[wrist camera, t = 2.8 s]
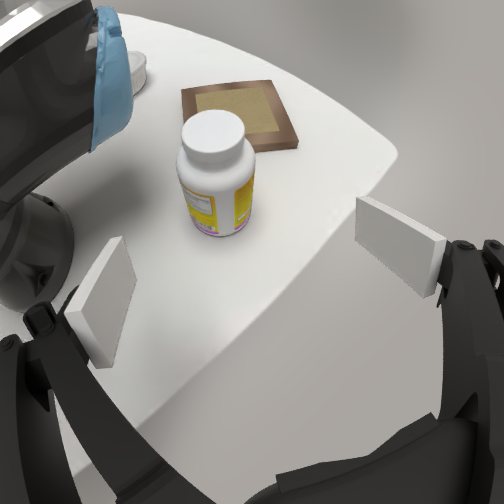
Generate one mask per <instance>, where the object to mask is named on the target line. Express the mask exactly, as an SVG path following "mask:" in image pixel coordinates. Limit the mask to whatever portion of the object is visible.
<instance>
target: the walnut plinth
mask: <svg viewBox="0 0 504 504" xmlns="http://www.w3.org/2000/svg"><path fill="white" fill-rule="evenodd" d="M181 93H182V106H183V118H184V124H185V122H186V121H187V120H188V119H189V118H191V117H192V116H194V115H195V114H197V113H200V112H203V111H206V110H224V111H228V112H231V113H233V114H235V115H236V116H238V117H239V118H240V119H241V120H242V122H243V124H244V127H245V138H246V139H247V140H248V141H249V143H250V144H251V146H252V147H253V150H254V152H263V151H272V150H282V149H293V148H297V146H298V142H299V140H298V138H297V135H296V133H295V131H294V128H293V126H292V124H291V121H290V119H289V117H288V115H287V112H286V110H285V108H284V106H283V104H282V102H281V99H280V97H279V95H278V93H277V91H276V89H275V87H274V85H273V83H272V81H271V80H257V81H243V82H232V83H223V84H215V85H207V86H200V87H194V88H188V89H182V90H181Z"/></svg>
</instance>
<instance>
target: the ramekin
mask: <svg viewBox="0 0 504 504" xmlns="http://www.w3.org/2000/svg"><path fill="white" fill-rule="evenodd" d="M127 53H128V59H129V64H130V71H131V77H132V86H133V95H135V94H136V93H137V92H138V91H139V90H140V89H141V88H142V87H143V85H144V83H145V80H146V56H145V55H144V54H143V53H141V52H139V51H128V52H127Z"/></svg>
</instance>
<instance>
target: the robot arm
mask: <svg viewBox="0 0 504 504" xmlns="http://www.w3.org/2000/svg"><path fill="white" fill-rule="evenodd" d="M121 35H122V31H121V26H120V21H119V18H118V15H117V13H116V11H115V10H114V9H113V8H112V7H110V6H99V7H96V8H95V10H93V7H92V3H91V0H0V303H1V304H2V305H4V306H5V307H7V308H9V309H11V310H15V311H18V312H21V313H25V314H24V316H23V322H24V323H25V325H26V327H27V329H28V330H29V332H30V334H31V335H32V337H33V339H34V340H31V341H28V342H25V343H22V341H21V339H20V338H19V336H18V335H16V334H12V335H9V336H7V337H4V338H3V339H2V340H1V341H0V504H82V503H81V500H80V497H79V495H78V492H77V489H76V487H75V483H74V480H73V477H72V474H71V471H70V468H69V464H68V461H67V457H66V454H65V450H64V446H63V442H62V438H61V433H60V428H59V424H58V418H57V413H56V407H55V400H54V394H55V396H56V398H57V400H58V402H59V404H60V406H61V408H62V410H63V412H64V414H65V416H66V418H67V420H68V422H69V424H70V426H71V428H72V429H73V431H74V433H75V435H76V437H77V438H78V440H79V442H80V443H81V445H82V447H83V448H84V450H85V452H86V453H87V455H88V456H89V458H90V459H91V461H92V462H93V464H94V465H95V467H96V468H97V470H98V471H99V473H100V474H101V475H102V477H103V478H104V479H105V481H106V482H107V483H108V485H109V486H110V488H111V489H112V490H113V492H114V493H115V494H116V496H117V499H116V501H115V502H116V504H216V503H215V502H213V501H212V500H211V499H209V498H208V497H207V496H205V495H204V494H203V493H202V492H200V491H199V490H198V489H197V488H196V487H194V486H193V485H192V484H191V483H190V482H188V481H187V480H186V479H185V478H184V477H183V476H181V475H180V474H179V473H178V472H177V471H176V470H175V469H174V468H173V467H172V466H171V465H169V464H168V463H167V462H166V461H165V460H164V459H163V458H162V457H161V456H160V455H159V454H158V453H157V452H156V451H155V450H154V449H153V448H152V447H151V446H150V445H149V444H148V443H147V442H146V440H145V439H144V438H143V437H142V436H141V435H140V434H139V433H138V432H137V431H136V429H135V428H134V427H133V426H132V425H131V424H130V423H129V421H128V420H127V419H126V418H125V417H124V415H123V414H122V413H121V412H120V411H119V409H118V408H117V407H116V405H115V404H114V403H113V402H112V400H111V399H110V398H109V396H108V395H107V394H106V392H105V391H104V390H103V388H102V387H101V386H100V384H99V383H98V381H97V380H96V379H95V377H94V376H93V374H92V373H91V371H90V370H89V368H88V367H87V364H88V361H89V358H90V360H91V362H92V363H93V365H94V366H95V368H96V369H100V368H112V367H113V363H114V359H115V355H116V351H117V347H118V343H119V339H120V335H121V332H122V328H123V324H124V321H125V317H126V314H127V311H128V307H129V304H130V301H131V297H132V294H133V291H134V288H135V285H136V282H137V279H136V276H135V273H134V270H133V267H132V264H131V261H130V257H129V254H128V251H127V248H126V244H125V241H124V237H123V236H119V237H114V238H110V240H109V241H108V243H107V244H106V245H105V247H104V248H103V250H102V251H101V253H100V254H99V256H98V257H97V259H96V260H95V262H94V263H93V265H92V266H91V268H90V270H89V271H88V273H87V274H86V276H85V277H84V279H83V281H82V282H81V284H80V285H78V286H77V287H76V288H74V289H73V290H72V291H71V292H70V294H69V296H68V297H67V300H65V302H64V304H63V306H62V307H61V309H60V311H59V312H58V314H56V312H55V310H54V309H53V307H52V305H51V303H50V301H51V300H52V299H53V298H54V297H55V296H56V294H57V293H58V291H59V290H60V288H61V286H62V285H63V283H64V281H65V278H66V276H67V274H68V271H69V268H70V264H71V260H72V255H73V246H74V236H73V229H72V225H71V222H70V219H69V217H68V215H67V214H66V212H65V211H64V210H63V209H62V208H61V207H60V206H59V205H58V204H57V203H56V202H54V201H53V200H51V199H50V198H47V197H45V196H42V195H39V194H36V193H33V192H32V191H33V190H34V189H35V188H37V187H38V186H39V185H41V184H42V183H43V182H44V181H46V180H47V179H48V178H50V177H51V176H53V175H54V174H55V173H57V172H58V171H59V170H61V169H62V168H64V167H65V166H67V165H68V164H70V163H71V162H73V161H74V160H76V159H77V158H79V157H80V156H82V155H83V154H85V153H86V152H88V153H91V152H93V151H94V150H95V148H96V146H98V145H99V144H101V143H102V142H104V141H105V140H107V139H109V138H110V137H112V136H113V135H115V134H117V133H118V132H120V131H121V130H122V129H124V128H125V127H126V125H127V124H128V122H129V120H130V118H131V114H132V112H133V86H132V77H131V71H130V64H129V59H128V53H127V48H126V44H125V40H124V38H123V37H122V36H121ZM355 241H356V242H357V243H359V244H360V245H361V246H362V247H364V248H365V249H366V250H367V251H369V252H370V253H371V254H372V255H374V256H375V257H376V258H377V259H378V260H380V261H381V262H382V263H383V264H384V265H386V266H387V267H388V268H389V269H390V270H391V271H393V272H394V273H395V274H396V275H397V276H399V277H400V278H401V279H402V280H403V281H404V282H405V283H407V284H408V285H409V286H410V287H411V288H412V289H413V290H414V291H416V292H417V293H418V294H419V295H420V296H421V297H422V298H425V297H428V296H430V295H433V294H434V293H435V289H436V286H437V282H438V283H439V284H441V285H442V289H441V293H440V296H439V299H438V303H437V308H438V307H439V305H440V304H441V306H442V307H441V308H442V321H443V384H442V398H441V409H440V413H439V416H438V419H437V420H436V419H435V417H434V416H433V414H432V413H431V412H430V413H429V414H427V415H425V416H424V417H422V418H420V419H419V420H417V421H415V422H413V423H412V424H409V425H408V426H406V427H404V428H402V429H400V430H399V431H398V432H397V433H396V434H395V435H393V436H392V437H391V438H390V439H389V440H387V441H386V442H385V443H384V444H382V445H381V446H380V447H379V448H377V449H376V450H375V451H374V452H372V453H371V454H369V455H367V456H364V457H358V458H352V459H346V460H339V461H331V462H322V463H318V464H314V465H311V466H308V467H304V468H301V469H297V470H293V471H289V472H286V473H282V474H277V475H276V480H277V483H275V484H273V485H271V486H269V487H267V488H265V489H263V490H261V491H260V492H258V493H257V494H255V495H254V496H253V497H251V498H250V499H249V500H248V501H247V502H245V503H244V504H504V246H503V245H502V244H501V243H500V242H498V241H496V240H485V241H484V245H483V250H477V249H476V247H475V246H474V245H473V244H471V243H469V242H467V241H462V240H456V241H453V242H452V243H451V242H449V241H447V239H446V238H445V237H443V236H441V235H440V234H438V233H436V232H434V231H433V230H431V229H429V228H427V227H426V226H424V225H422V224H420V223H419V222H417V221H415V220H413V219H411V218H409V217H407V216H406V215H404V214H402V213H400V212H398V211H396V210H394V209H392V208H390V207H388V206H386V205H384V204H382V203H380V202H378V201H376V200H374V199H372V198H370V197H368V196H362V197H356V224H355ZM498 276H500V284H499V287H498V289H496V287H495V285H496V282H497V279H498ZM53 391H54V393H53Z"/></svg>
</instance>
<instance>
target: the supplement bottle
mask: <svg viewBox="0 0 504 504" xmlns="http://www.w3.org/2000/svg"><path fill="white" fill-rule="evenodd" d="M181 138H182V146H181V148H180V149H179V151H178V154H177V158H176V169H177V173H178V177H179V180H180V183H181V186H182V190H183V193H184V196H185V199H186V202H187V206H188V209H189V212H190V215H191V218H192V220H193V222H194V223H195V225H196V226H197V227H198V228H199V229H200V230H201V231H203V232H205V233H207V234H209V235H213V236H226V235H230V234H233V233H235V232H237V231H238V230H240V229H241V228H242V227H243V226H244V225H245V224H246V222H247V221H248V218H249V216H250V212H251V204H252V194H253V183H254V173H255V161H256V159H255V152H254V150H253V147H252V146H251V144H250V143H249V141H248V140H247V139H246V138H245V127H244V124H243V122H242V120H241V119H240V118H239V117H238V116H236V115H235V114H233V113H231V112H228V111H224V110H206V111H203V112H200V113H197V114H195V115H194V116H192V117H191V118H189V119H188V120H187V121H186V122H185V124H184V125H183V127H182V131H181Z"/></svg>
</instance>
